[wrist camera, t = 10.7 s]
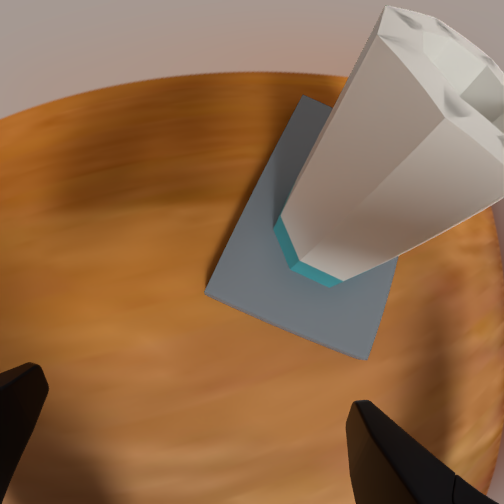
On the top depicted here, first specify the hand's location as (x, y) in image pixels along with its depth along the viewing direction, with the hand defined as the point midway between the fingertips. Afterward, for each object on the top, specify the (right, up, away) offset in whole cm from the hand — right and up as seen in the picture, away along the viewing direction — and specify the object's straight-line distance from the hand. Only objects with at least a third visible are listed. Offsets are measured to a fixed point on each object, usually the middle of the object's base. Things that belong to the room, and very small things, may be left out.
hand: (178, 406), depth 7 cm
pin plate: (+7, +6, +12) cm, 16 cm away
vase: (+6, +5, +11) cm, 13 cm away
